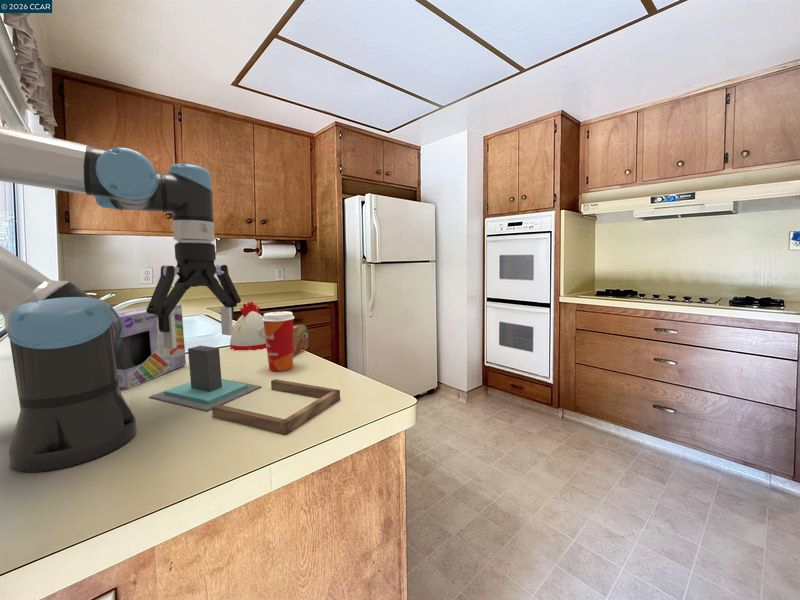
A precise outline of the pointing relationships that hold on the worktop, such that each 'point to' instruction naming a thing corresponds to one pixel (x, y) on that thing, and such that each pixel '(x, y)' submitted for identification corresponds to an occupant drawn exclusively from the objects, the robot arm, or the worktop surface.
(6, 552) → the worktop surface
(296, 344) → the tin
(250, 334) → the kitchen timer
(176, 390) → the cover plate
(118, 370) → the cake pan box
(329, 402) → the walnut frame
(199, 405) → the grey mat
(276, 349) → the coffee cup
